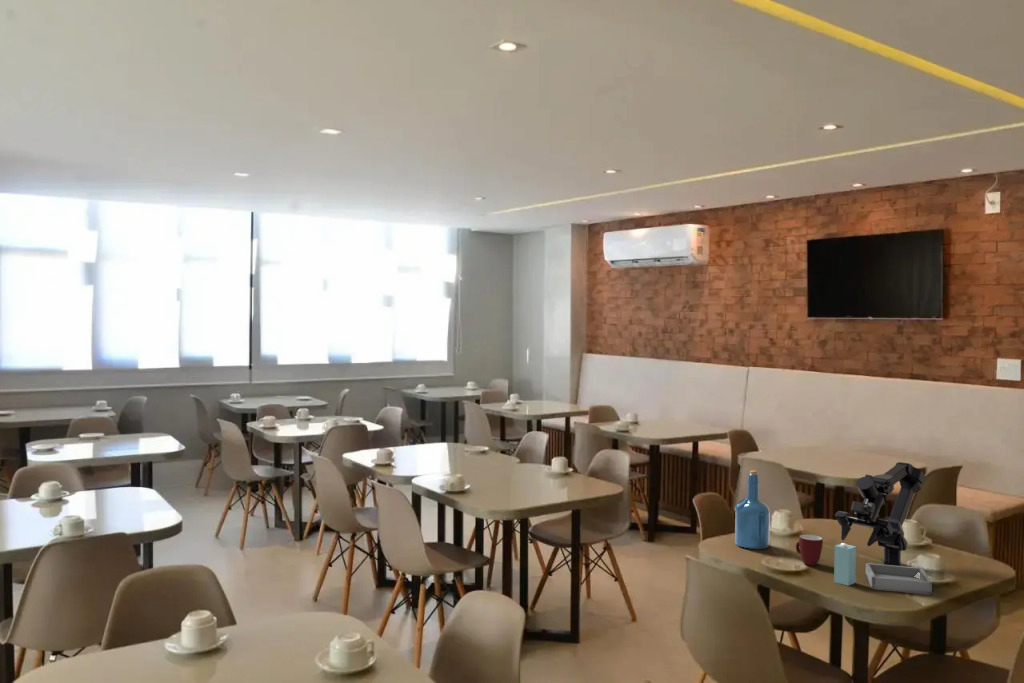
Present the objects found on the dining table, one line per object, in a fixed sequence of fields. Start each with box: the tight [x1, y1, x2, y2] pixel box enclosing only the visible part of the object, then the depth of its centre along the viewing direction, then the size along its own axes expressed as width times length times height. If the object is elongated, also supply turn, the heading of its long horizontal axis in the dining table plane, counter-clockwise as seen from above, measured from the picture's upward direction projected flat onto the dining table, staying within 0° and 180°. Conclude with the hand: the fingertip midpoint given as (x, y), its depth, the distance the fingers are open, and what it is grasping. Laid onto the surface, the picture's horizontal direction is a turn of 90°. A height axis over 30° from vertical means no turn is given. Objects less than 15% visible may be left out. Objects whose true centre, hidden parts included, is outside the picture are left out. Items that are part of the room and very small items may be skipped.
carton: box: [833, 542, 857, 587], centre depth 271 cm, size 5×5×14 cm
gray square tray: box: [864, 562, 933, 596], centre depth 269 cm, size 17×18×4 cm
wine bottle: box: [734, 470, 771, 550], centre depth 315 cm, size 14×13×30 cm
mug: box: [795, 534, 824, 567], centre depth 292 cm, size 11×8×10 cm
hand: (855, 542), depth 275 cm, fingers open, 9 cm apart
